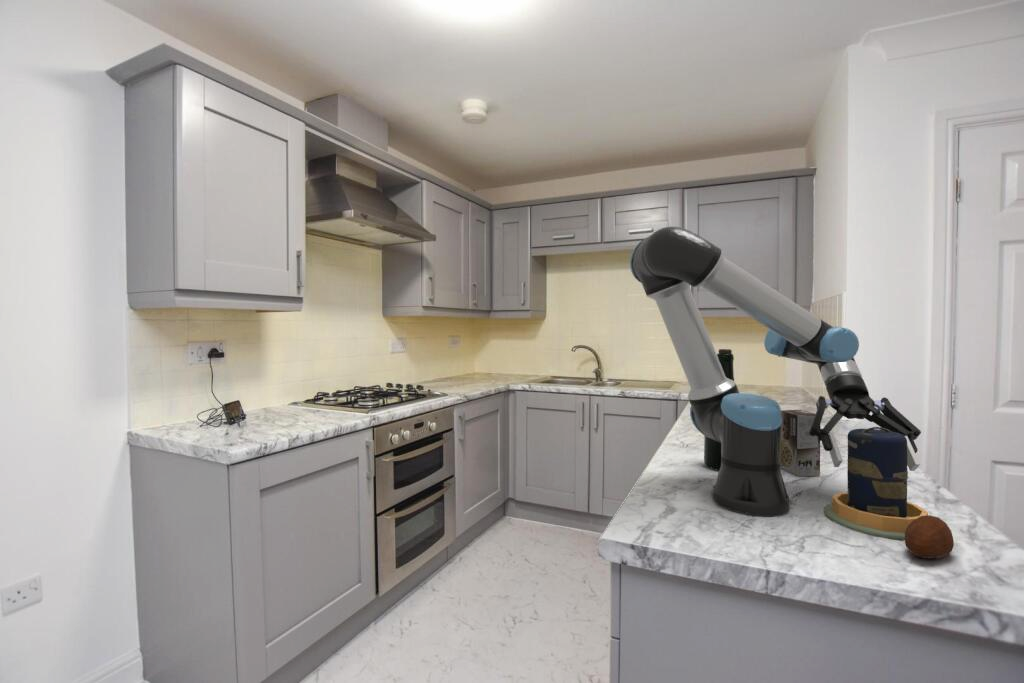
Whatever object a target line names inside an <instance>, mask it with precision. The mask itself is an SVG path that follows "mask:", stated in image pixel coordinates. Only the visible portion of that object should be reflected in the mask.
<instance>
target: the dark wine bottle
mask: <svg viewBox="0 0 1024 683" xmlns="http://www.w3.org/2000/svg"><path fill="white" fill-rule="evenodd" d="M732 352H733V351H732V349H729V348H720V349H718V353H716V354H717V356H718V359H719V361H720V364H721V366H722V369H723V371H724V374H725V376H726V378H728V379H730V380H733V381H735V375H734V374H735V373H734V360H735V357H734V354H733V353H732ZM703 436H704V435H703ZM703 464H704V465H705V466H706V467H707V468H709V469H711V468H712V469H711V470H716V471H719V470H720V467H721V443H719V442H717V441H715V440H713V439H711V438H708V437H706V436H704V440H703Z"/></svg>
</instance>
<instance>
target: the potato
mask: <svg viewBox="0 0 1024 683" xmlns="http://www.w3.org/2000/svg"><path fill="white" fill-rule="evenodd" d="M954 541H955V540H954V537H953V532H952V529H950V527H949V526H948V524H947V522H945V521H944V520H943V519H942V518H940V517H938V516H933V515H929V514H928V515H927V516H920V517H919V518H917V519H915V520H913V521H912V522H911V523H910V524H909V525H908V527H907V529H906V531H905V540H904V544H905V546H906V548H907V550H908V551H909V552H911V553H912V554H913V555H915V556H917V557H920V558H923V559H924V558H925V559H939V558H942V557H945V556H948V555H950V554H951V553H952V552H953V550H954V546H955V545H954Z"/></svg>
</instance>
